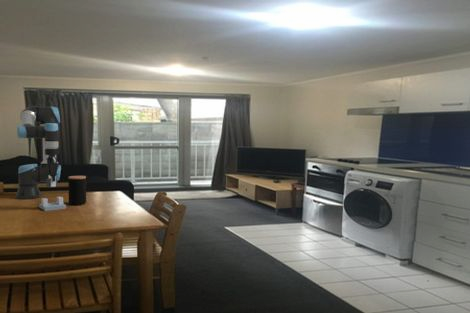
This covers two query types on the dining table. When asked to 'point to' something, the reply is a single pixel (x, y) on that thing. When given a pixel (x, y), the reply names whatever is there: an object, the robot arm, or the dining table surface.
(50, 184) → the dark gray block
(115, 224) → the dining table surface
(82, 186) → the coffee jar
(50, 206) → the board
